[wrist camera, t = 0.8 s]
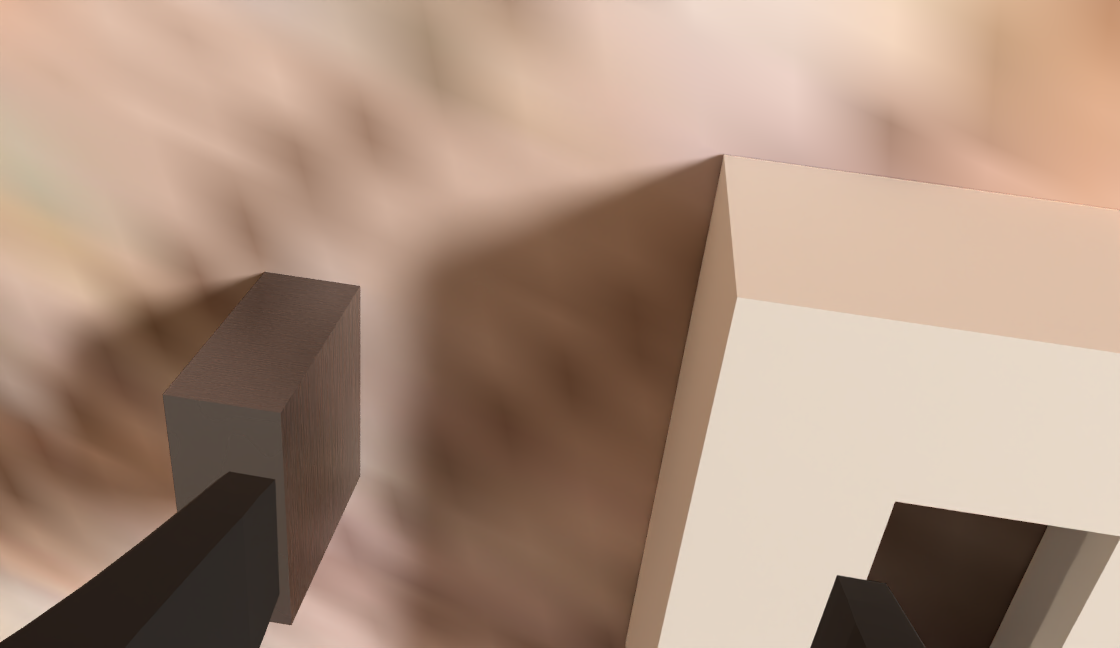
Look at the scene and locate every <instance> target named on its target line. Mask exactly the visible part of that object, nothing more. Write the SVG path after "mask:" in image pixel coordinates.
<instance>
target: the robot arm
mask: <svg viewBox="0 0 1120 648" xmlns="http://www.w3.org/2000/svg"><path fill="white" fill-rule="evenodd" d="M279 594H280V591H279V564H278V537H277V510H276V483H275V479H271V478H265V477H259V476H253V475H247V474H241V473H235V472H230V471H229V472H228V473H226V474H225V475H223V476H222V477H220V478H219V479H218V480H217V481H215V482H214V483H213V484H212V485H210V486H209V487H208V488H207V489H205V490H204V491H203V492H202V493H200V494H199V495H198V496H197V497H196V498H194V499H193V500H192V501H191V502H189V503H188V504H187V505H186V506H185V507H183V508H182V509H181V510H180V511H178V512H177V513H176V514H175V515H173V516H172V517H171V518H170V519H169V520H167V521H166V522H165V523H164V524H162V525H161V526H160V527H159V528H157V529H156V530H155V531H154V532H152V533H151V534H150V535H149V536H147V537H146V538H145V539H143V540H142V541H141V542H140V543H138V544H137V545H136V546H134V547H133V548H132V549H131V550H129V551H128V552H127V553H125V554H124V555H123V556H121V557H120V558H119V559H117V560H116V561H115V562H114V563H112V564H111V565H110V566H108V567H107V568H106V569H104V570H103V571H102V572H100V573H99V574H98V575H97V576H95V577H94V578H93V579H91V580H90V581H88V582H87V583H86V584H84V585H83V586H82V587H80V588H79V589H77V590H76V591H75V592H73V593H72V594H70V595H69V596H67V597H66V598H65V599H63V600H62V601H60V602H59V603H57V604H56V605H55V606H53V607H52V608H50V609H49V610H47V611H46V612H45V613H43V614H42V615H40V616H39V617H37V618H36V619H35V620H33V621H32V622H30V623H29V624H27V625H26V626H24V627H23V628H21V629H20V630H18V631H17V632H15V633H14V634H12V635H11V636H9V637H8V638H6V639H5V640H3V641H2V642H0V648H259V647H260V645H261V642H262V640H263V637H264V635H265V632H266V629H267V627H268V624H269V621H270V619H271V616H272V613H273V610H274V608H275V605H276V602H277V600H278V597H279ZM810 648H926V647H925V645H924V644H923V642H922V640H921V639H920V637H919V636H918V634H917V632H916V631H915V629H914V627H913V626H912V624H911V622H910V621H909V619H908V618H907V616H906V614H905V613H904V611H903V609H902V608H901V606H900V604H899V603H898V601H897V600H896V598H895V596H894V595H893V593H892V592H891V590H890V589H889V587H888V586H887V584H886V583H881V582H875V581H869V580H863V579H857V578H852V577H846V576H840V575H837V576H836V579H835V582H834V585H833V587H832V590H831V593H830V595H829V598H828V601H827V604H826V606H825V609H824V612H823V615H822V617H821V620H820V623H819V625H818V628H817V631H816V634H815V636H814V639H813V642H812V644H811V647H810Z"/></svg>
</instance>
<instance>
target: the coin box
mask: <svg viewBox="0 0 1120 648" xmlns="http://www.w3.org/2000/svg"><path fill="white" fill-rule="evenodd" d="M895 501H896V502H902V503H909V504H915V505H922V506H928V507H935V508H941V509H947V510H954V511H960V512H967V513H973V514H980V515H986V516H993V517H999V518H1006V519H1012V520H1018V521H1025V522H1031V523H1038V524H1044V525H1048V527H1047V529H1046V531H1045V533H1044V535H1043V537H1042V539H1041V541H1040V543H1039V546H1038V548H1037V550H1036V552H1035V554H1034V556H1033V558H1032V560H1031V562H1030V564H1029V566H1028V568H1027V571H1026V573H1025V575H1024V577H1023V579H1022V581H1021V583H1020V585H1019V587H1018V589H1017V591H1016V594H1015V596H1014V598H1013V600H1012V602H1011V604H1010V606H1009V608H1008V610H1007V612H1006V614H1005V616H1004V619H1003V621H1002V623H1001V625H1000V627H999V629H998V631H997V633H996V635H995V637H994V639H993V641H992V644H991V646H990V648H1120V210H1117V209H1109V208H1102V207H1095V206H1088V205H1081V204H1074V203H1067V202H1060V201H1052V200H1045V199H1038V198H1031V197H1024V196H1017V195H1010V194H1002V193H995V192H988V191H981V190H974V189H967V188H960V187H953V186H945V185H938V184H931V183H924V182H917V181H910V180H903V179H895V178H888V177H881V176H874V175H867V174H860V173H853V172H846V171H838V170H831V169H824V168H817V167H810V166H803V165H796V164H788V163H781V162H774V161H767V160H760V159H753V158H746V157H738V156H731V155H724V156H723V161H722V166H721V171H720V176H719V181H718V186H717V191H716V196H715V201H714V206H713V211H712V216H711V221H710V226H709V231H708V236H707V241H706V246H705V251H704V256H703V261H702V266H701V271H700V276H699V280H698V285H697V290H696V295H695V300H694V305H693V310H692V315H691V320H690V325H689V330H688V335H687V340H686V345H685V350H684V355H683V360H682V365H681V370H680V375H679V380H678V385H677V390H676V395H675V399H674V404H673V409H672V414H671V419H670V424H669V429H668V434H667V439H666V444H665V449H664V454H663V459H662V464H661V469H660V474H659V479H658V484H657V489H656V494H655V499H654V504H653V509H652V514H651V518H650V523H649V528H648V533H647V538H646V543H645V548H644V553H643V558H642V563H641V568H640V573H639V578H638V583H637V588H636V593H635V598H634V603H633V608H632V613H631V618H630V623H629V628H628V633H627V638H626V647H625V648H810V647H811V644H812V642H813V639H814V636H815V634H816V631H817V628H818V625H819V623H820V620H821V617H822V615H823V612H824V609H825V606H826V604H827V601H828V598H829V595H830V593H831V590H832V587H833V585H834V582H835V579H836V576H837V575H840V576H846V577H852V578H857V579H863V580H867V577H868V574H869V571H870V569H871V566H872V563H873V561H874V558H875V555H876V552H877V550H878V547H879V544H880V541H881V539H882V536H883V533H884V531H885V528H886V525H887V522H888V520H889V517H890V514H891V512H892V509H893V506H894V503H895Z"/></svg>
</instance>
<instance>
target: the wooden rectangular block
mask: <svg viewBox="0 0 1120 648" xmlns="http://www.w3.org/2000/svg"><path fill="white" fill-rule="evenodd" d="M163 400H164V408H165V416H166V424H167V432H168V440H169V448H170V456H171V464H172V472H173V480H174V488H175V496H176V504H177V512H178V511H180V510H181V509H182V508H183V507H185V506H186V505H187V504H188V503H189V502H191V501H192V500H193V499H194V498H196V497H197V496H198V495H199V494H200V493H202V492H203V491H204V490H205V489H207V488H208V487H209V486H210V485H212V484H213V483H214V482H215V481H217V480H218V479H219V478H220V477H222V476H223V475H225V474H226V473H228V472H229V471H230V472H235V473H241V474H247V475H253V476H259V477H265V478H271V479H275V483H276V510H277V537H278V564H279V591H280V594H279V597H278V600H277V602H276V605H275V608H274V610H273V613H272V616H271V619H270V621H269V622H275V623H281V624H287V625H292V623H293V621H294V618H295V616H296V614H297V612H298V610H299V608H300V605H301V603H302V601H303V599H304V597H305V595H306V592H307V590H308V588H309V586H310V584H311V582H312V579H313V577H314V575H315V573H316V571H317V569H318V566H319V564H320V562H321V560H322V558H323V556H324V553H325V551H326V549H327V547H328V545H329V542H330V540H331V538H332V536H333V534H334V532H335V529H336V527H337V525H338V523H339V521H340V519H341V516H342V514H343V512H344V510H345V508H346V506H347V503H348V501H349V499H350V497H351V495H352V493H353V490H354V488H355V486H356V484H357V482H358V480H359V477H360V286H356V285H349V284H342V283H336V282H329V281H322V280H315V279H309V278H302V277H295V276H289V275H282V274H275V273H268V272H264V274H263V275H262V276H261V277H260V278H259V280H258V281H257V282H256V283H255V284H254V286H253V287H252V288H251V289H250V290H249V292H248V293H247V294H246V295H245V296H244V298H243V299H242V300H241V301H240V302H239V304H238V305H237V306H236V307H235V308H234V310H233V311H232V312H231V313H230V314H229V316H228V317H227V318H226V319H225V320H224V322H223V323H222V324H221V325H220V326H219V328H218V329H217V330H216V331H215V332H214V334H213V335H212V336H211V337H210V338H209V340H208V341H207V342H206V343H205V344H204V346H203V347H202V348H201V349H200V350H199V352H198V353H197V354H196V355H195V357H194V358H193V359H192V360H191V361H190V363H189V364H188V365H187V366H186V367H185V369H184V370H183V371H182V372H181V373H180V375H179V376H178V377H177V378H176V379H175V381H174V382H173V383H172V384H171V385H170V387H169V388H168V389H167V390H166V391H165V393H164V394H163Z"/></svg>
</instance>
